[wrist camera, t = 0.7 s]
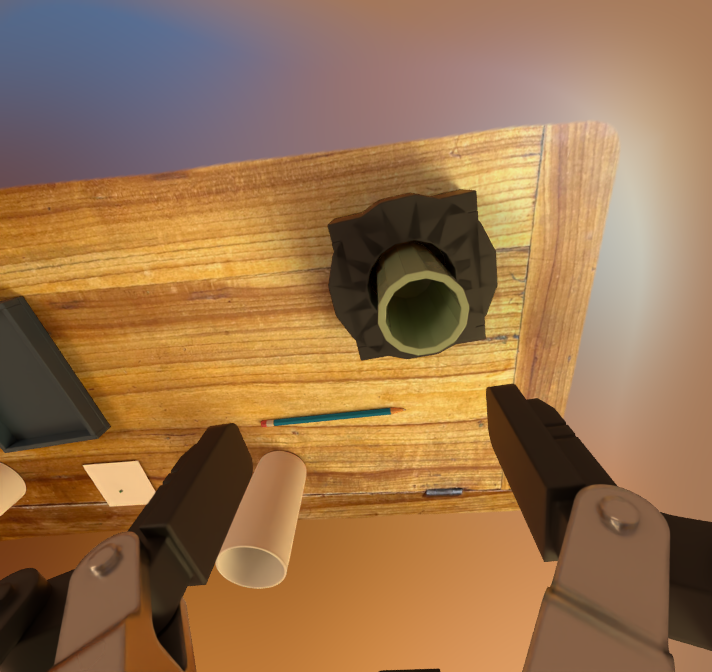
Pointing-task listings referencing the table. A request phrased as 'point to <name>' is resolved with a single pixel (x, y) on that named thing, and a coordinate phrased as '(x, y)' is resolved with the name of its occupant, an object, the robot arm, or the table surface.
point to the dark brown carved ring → (398, 225)
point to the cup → (418, 300)
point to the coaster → (121, 483)
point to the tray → (39, 387)
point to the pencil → (330, 417)
